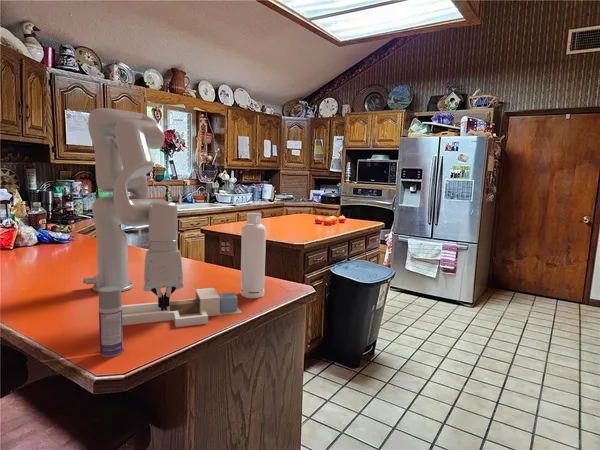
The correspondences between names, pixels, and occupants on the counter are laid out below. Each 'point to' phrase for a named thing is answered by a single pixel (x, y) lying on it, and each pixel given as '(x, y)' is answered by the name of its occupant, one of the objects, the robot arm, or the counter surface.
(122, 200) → the robot arm
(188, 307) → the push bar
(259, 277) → the bottle
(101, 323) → the container
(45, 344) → the counter surface
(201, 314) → the lane
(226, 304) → the block
